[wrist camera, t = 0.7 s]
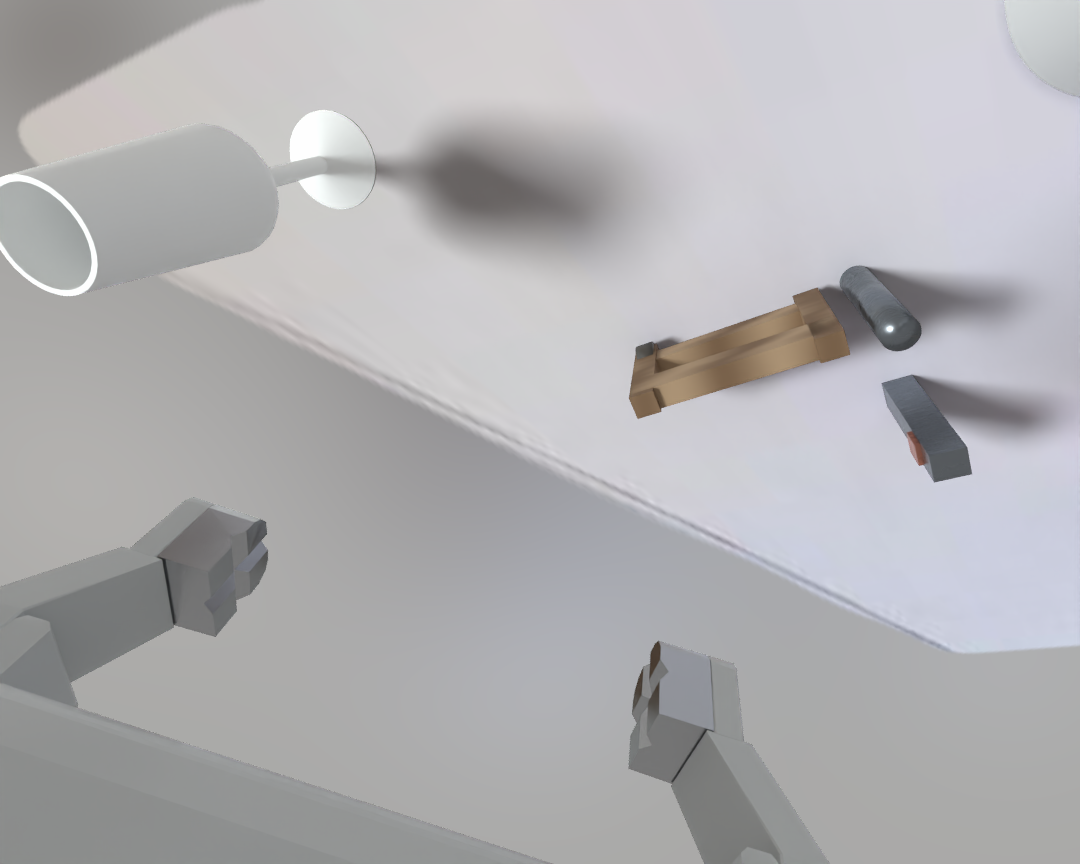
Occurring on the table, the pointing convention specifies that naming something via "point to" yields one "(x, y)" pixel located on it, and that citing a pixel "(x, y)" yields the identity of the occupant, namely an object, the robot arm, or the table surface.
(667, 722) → the robot arm
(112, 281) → the champagne flute
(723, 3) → the table surface
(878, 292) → the posts
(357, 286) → the table surface
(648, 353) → the gate
